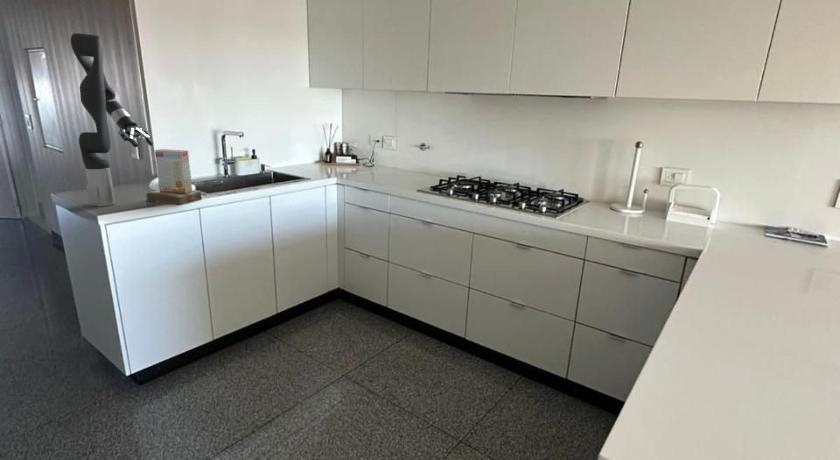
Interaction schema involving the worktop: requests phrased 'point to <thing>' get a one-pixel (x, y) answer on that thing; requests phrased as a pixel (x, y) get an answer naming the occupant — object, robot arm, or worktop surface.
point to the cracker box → (173, 171)
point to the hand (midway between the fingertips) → (144, 145)
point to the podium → (173, 197)
